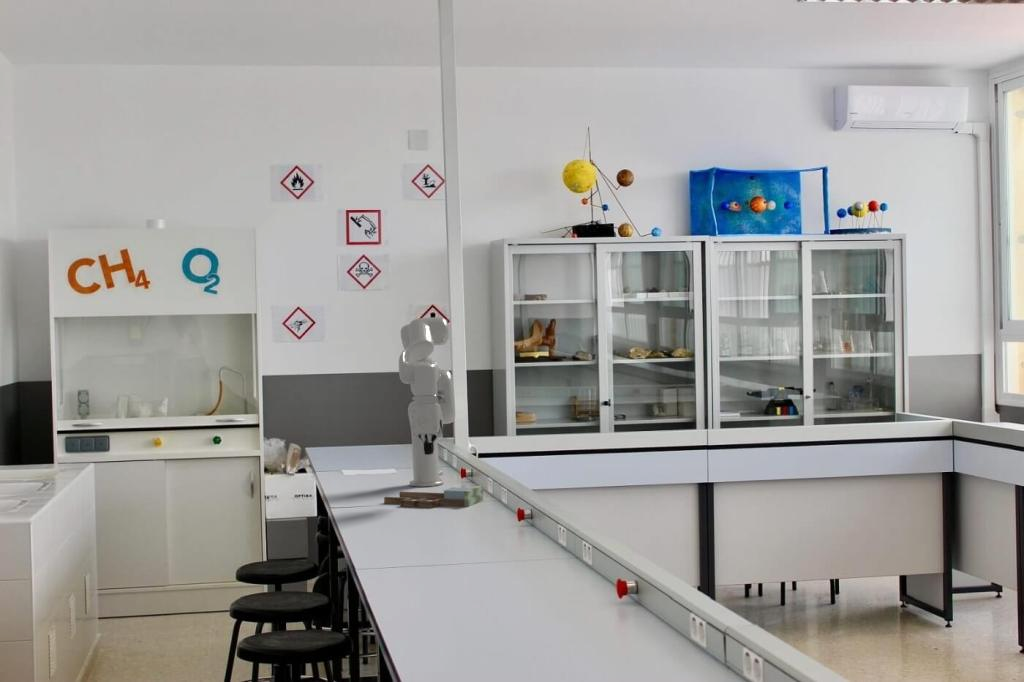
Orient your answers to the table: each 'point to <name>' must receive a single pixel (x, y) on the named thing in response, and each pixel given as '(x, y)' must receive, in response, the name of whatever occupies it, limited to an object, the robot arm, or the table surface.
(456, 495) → the slate block
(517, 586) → the table surface
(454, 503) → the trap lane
